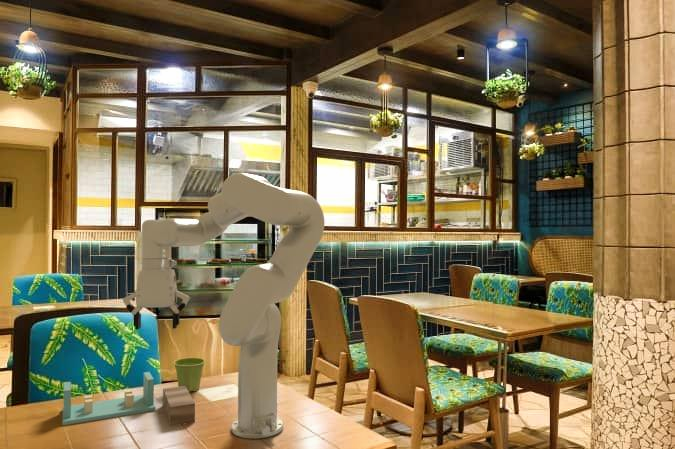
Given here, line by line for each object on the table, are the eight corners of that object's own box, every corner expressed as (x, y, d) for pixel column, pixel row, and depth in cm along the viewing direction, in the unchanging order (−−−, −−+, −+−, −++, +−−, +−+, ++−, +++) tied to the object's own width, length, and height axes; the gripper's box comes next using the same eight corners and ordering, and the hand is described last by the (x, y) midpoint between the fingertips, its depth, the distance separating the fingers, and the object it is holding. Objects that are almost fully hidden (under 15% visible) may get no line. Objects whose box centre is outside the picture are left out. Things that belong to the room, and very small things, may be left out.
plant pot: (209, 385, 156) (209, 357, 156) (198, 395, 147) (198, 365, 147) (180, 384, 157) (181, 357, 157) (167, 394, 148) (168, 364, 148)
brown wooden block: (194, 423, 126) (195, 403, 126) (170, 427, 123) (170, 406, 124) (185, 403, 140) (185, 385, 141) (163, 406, 138) (163, 388, 138)
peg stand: (148, 397, 144) (149, 370, 145) (155, 410, 134) (155, 380, 134) (62, 410, 134) (63, 380, 134) (62, 425, 123) (62, 393, 123)
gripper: (191, 263, 140) (191, 324, 139) (127, 264, 137) (127, 326, 137) (187, 265, 132) (187, 329, 132) (119, 266, 130) (118, 332, 130)
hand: (156, 328), depth 134 cm, fingers open, 9 cm apart
